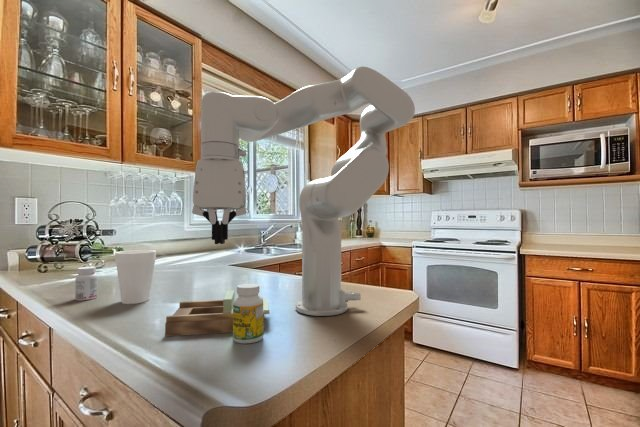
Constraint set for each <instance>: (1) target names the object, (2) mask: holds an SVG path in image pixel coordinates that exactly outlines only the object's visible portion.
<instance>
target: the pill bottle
mask: <svg viewBox="0 0 640 427" xmlns="http://www.w3.org/2000/svg"><path fill="white" fill-rule="evenodd" d="M76 272H77V275H76V276H75V288H74V290H75V292H74V293H75V294H74V295H75V301H89V300H93V299H96V298H97V297H98V274H97V273H96V272H97V268H96V266H83V267H77V271H76Z"/></svg>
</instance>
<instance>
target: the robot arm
mask: <svg viewBox="0 0 640 427" xmlns="http://www.w3.org/2000/svg"><path fill="white" fill-rule="evenodd" d="M200 101H201V102H200V114H201V115H200V122H201V123H200V133H201V134H200V159H198V160H197V163H196V166H195V172H194V177H193V178H194V179H193V191H192V203H193V206H192V211H191V213H192V214H193V215H195V216H199V217H200V216H201V217H204V218H205V219H206V220H207V221H208V222H209V223H210V225H211V241H214V245H219V244H220V245H224V244H226V241H227V240H228V239H229V233H228V232H229V224H230V222H232V220H234V218H237V217H239V216H244V215H247V207H246V202H247V201H246V200H247V194H246V193H247V192H246V190H247V189H246V175H245V169H244V163H243V161H241V160H240V159H241V158H243V157H244V158H246V157H247V151H246V150H243V149H241V148H240V140H241V141H244V142H246V143H247V142H248V143H252V142H257V141H261V140H265V139H269V138H273V137H275V136H278V135H281V134H285V133H288V132H290V131H293V130H294V131H295V130H297V129H300V128H303V127H304V128H305V127H307V126H310V125H312V124H315V123H318V122H319V123H320V122H323V121H326V120H329V119H333V118H336V117H341V116H344V115H346V114H351V113H353V112H355V111H357V110H359V109H361V108H362V107H364V106H366V105H368V104H369V106H367V107H366V108H365V109H364V110H363V111H362V113H361V115H360V118H359V129H360V139H359V140H358V141H357V142H356V143H355V144H354V145H353V146H352V147H351V148H350V149H349V150H348V151H347V152H345V153H344V154H343V155H341V156H340V157H339V158H338V159H337V160H336V161H335V163H334V164H333V166H332V167H331V168H332V169H331V171H330V176H327V177H321V178H317V179H314V180H311V181H309V182H307V183H306V185H304V186H303V188H302V189H301V191H300V194H299V200H298V201H299V203H298V204H299V212H300V220H301V231H302V233H301V235H302V237H301V238H302V240H301V241H302V244H301V245H302V246H301V249H302V251H301V252H302V253H301V257H302V258H301V261H302V262H301V265H302V267H301V270H302V271H301V300H299V301H297V302H296V303H295V310H296V311H297V312H298V313H300V314H303V315H307V316H315V317H328V316H329V317H330V316H336V315H340V314H343V313H345V312H347V311H348V302H350V301H352V302H356V301H361V298H362V297H361V292H352V291H345V290H343V289H342V232H341V225H340V223H339V219H338V218H346V217H350V216H352V215H353V214H355V213H356V212H358V210H360V209H361V208H362V207H363V205H364V204H366V202H368V201H369V200H370V199H371V198H372V196H374V195H375V194H376V192H377V191H379V189H380V188H381V187H382V186H383V185H384V183H385V182H386V180H387V178H388V175H389V170H390V168H389V167H390V164H389V159H388V157H387V155H388V147H387V140H386V133H388V132H391V131H393V130H396V129H399V128H402V127H404V126H406V125H408V124H409V123H410V122H411V121H412V120H413V118H414V116H415V112H416V107H415V103H414V100H413V99H412V97H411V96H410V95H409V94H408V93H407V92H406V91H405V90H404V89H403V88H401V87H399V86H398V85H397V84H396V83H394V82H393V81H392V80H390V79H389V78H387V77H386V76H385V75H383V74H382V73H380V72H379V71H377V70H376V69H373V68H371V67H368V66H358V67H356V68H355V69H353V70H352V71H351V72H349V73H348V74H347V75H345V76H344V77H342V78H340V79H336V80H335V79H334V80H332V81H326V82H322V83H318V84H316V83H315V84H312V85H306V86H304V87H302V88H300V89H297V90H296V91H294V92H292V93H291V94H290V95H287V96H286V97H284V98H283V99H280V100H278V101H277V102H273V101H272V100H271V99H269V98H266V97H264V96H258V95H233V94H230V93H227V92H223V91H209V92H207V93H205V94H204V95H203V96H202V98H201V100H200ZM217 210H223V214H222V219H221V221H219V218H218V212H217Z"/></svg>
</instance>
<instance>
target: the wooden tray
mask: <svg viewBox="0 0 640 427" xmlns="http://www.w3.org/2000/svg"><path fill="white" fill-rule="evenodd" d="M262 299H264V298H263V297H262ZM164 324H165V325H164V326H165V329H164V332H165V334H164V337H177V335H178V336H191V334H195V335H207V334H221V333H222V334H224V333H233V312H231V313H223V299H213V300H212V299H211V300H194V301H193V300H191V301H180V302H179V307H178V308H177V310H176V311H175V312H174V313H173V314H172V315H166V317H165V323H164ZM264 330H265V314H264V311H263V331H264Z"/></svg>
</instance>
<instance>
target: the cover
mask: <svg viewBox="0 0 640 427" xmlns="http://www.w3.org/2000/svg"><path fill="white" fill-rule="evenodd" d="M234 299H235V290H234V289H233V290H232V289H231V290H227V291H225V295H224V297H223V299H222V300H223V313H231V312H233V301H234ZM263 311H264V315H270V304H269V299H268V298H263Z"/></svg>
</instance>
